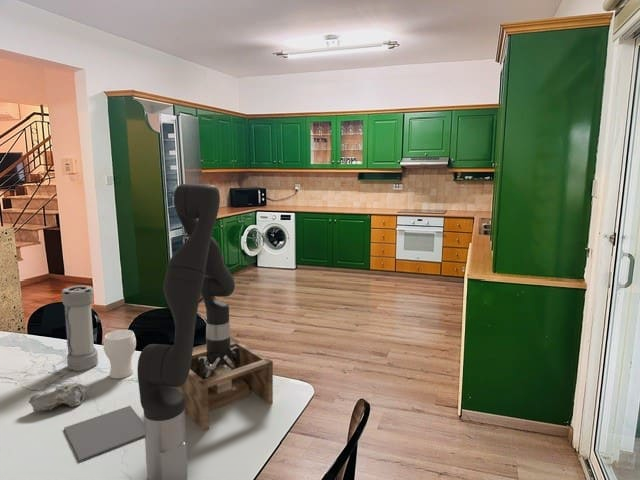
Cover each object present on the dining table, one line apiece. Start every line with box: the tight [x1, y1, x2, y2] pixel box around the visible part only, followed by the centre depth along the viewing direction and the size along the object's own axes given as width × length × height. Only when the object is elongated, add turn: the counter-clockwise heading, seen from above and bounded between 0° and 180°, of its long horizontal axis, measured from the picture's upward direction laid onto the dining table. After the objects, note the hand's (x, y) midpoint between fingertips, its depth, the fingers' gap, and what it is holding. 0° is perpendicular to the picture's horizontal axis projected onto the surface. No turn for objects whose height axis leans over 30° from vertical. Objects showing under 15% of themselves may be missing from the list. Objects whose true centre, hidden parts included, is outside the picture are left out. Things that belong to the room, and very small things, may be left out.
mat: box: [63, 405, 145, 463], centre depth 120 cm, size 18×18×1 cm
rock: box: [28, 382, 88, 412], centre depth 132 cm, size 16×7×7 cm, turn 131°
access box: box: [172, 336, 274, 432], centre depth 138 cm, size 26×24×14 cm
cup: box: [103, 329, 137, 380], centre depth 153 cm, size 11×11×15 cm
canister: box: [61, 284, 99, 372], centre depth 158 cm, size 10×10×30 cm
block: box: [209, 364, 232, 394], centre depth 138 cm, size 7×5×7 cm
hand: (219, 382), depth 138 cm, fingers open, 8 cm apart
